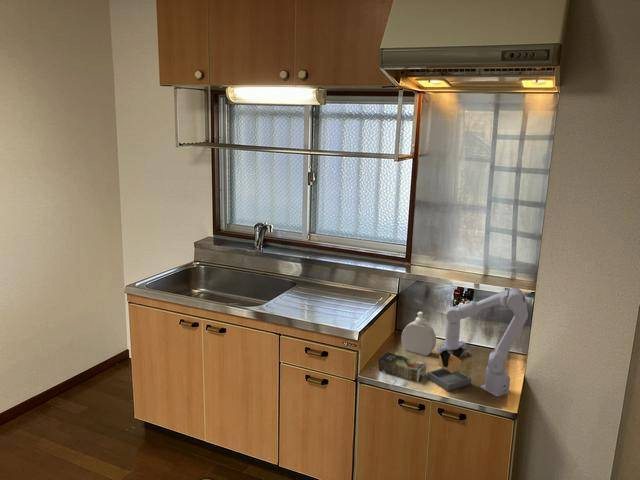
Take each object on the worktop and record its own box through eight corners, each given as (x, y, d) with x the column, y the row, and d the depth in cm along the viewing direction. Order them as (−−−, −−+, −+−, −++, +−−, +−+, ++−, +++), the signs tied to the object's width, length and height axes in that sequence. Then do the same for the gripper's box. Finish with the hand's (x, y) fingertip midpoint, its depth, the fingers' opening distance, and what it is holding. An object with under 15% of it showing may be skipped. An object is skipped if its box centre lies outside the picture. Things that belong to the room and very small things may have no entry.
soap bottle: (400, 349, 269) (402, 310, 265) (404, 345, 274) (406, 307, 269) (431, 357, 261) (434, 317, 256) (435, 353, 265) (438, 314, 261)
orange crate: (460, 370, 235) (461, 359, 234) (451, 373, 232) (452, 362, 231) (447, 363, 242) (448, 352, 240) (438, 365, 239) (439, 354, 238)
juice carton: (428, 374, 245) (429, 361, 243) (419, 383, 237) (420, 370, 235) (387, 363, 255) (387, 351, 254) (377, 371, 247) (378, 359, 246)
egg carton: (452, 360, 259) (453, 352, 258) (441, 354, 265) (442, 346, 264) (469, 356, 264) (470, 348, 263) (458, 350, 270) (459, 342, 270)
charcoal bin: (470, 384, 236) (471, 378, 235) (447, 391, 230) (448, 385, 229) (449, 372, 247) (450, 365, 246) (427, 378, 240) (427, 372, 240)
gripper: (458, 328, 240) (456, 357, 243) (432, 334, 233) (430, 364, 236) (470, 334, 234) (467, 364, 237) (444, 341, 227) (442, 371, 230)
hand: (450, 364), depth 236 cm, fingers closed on orange crate, 5 cm apart
